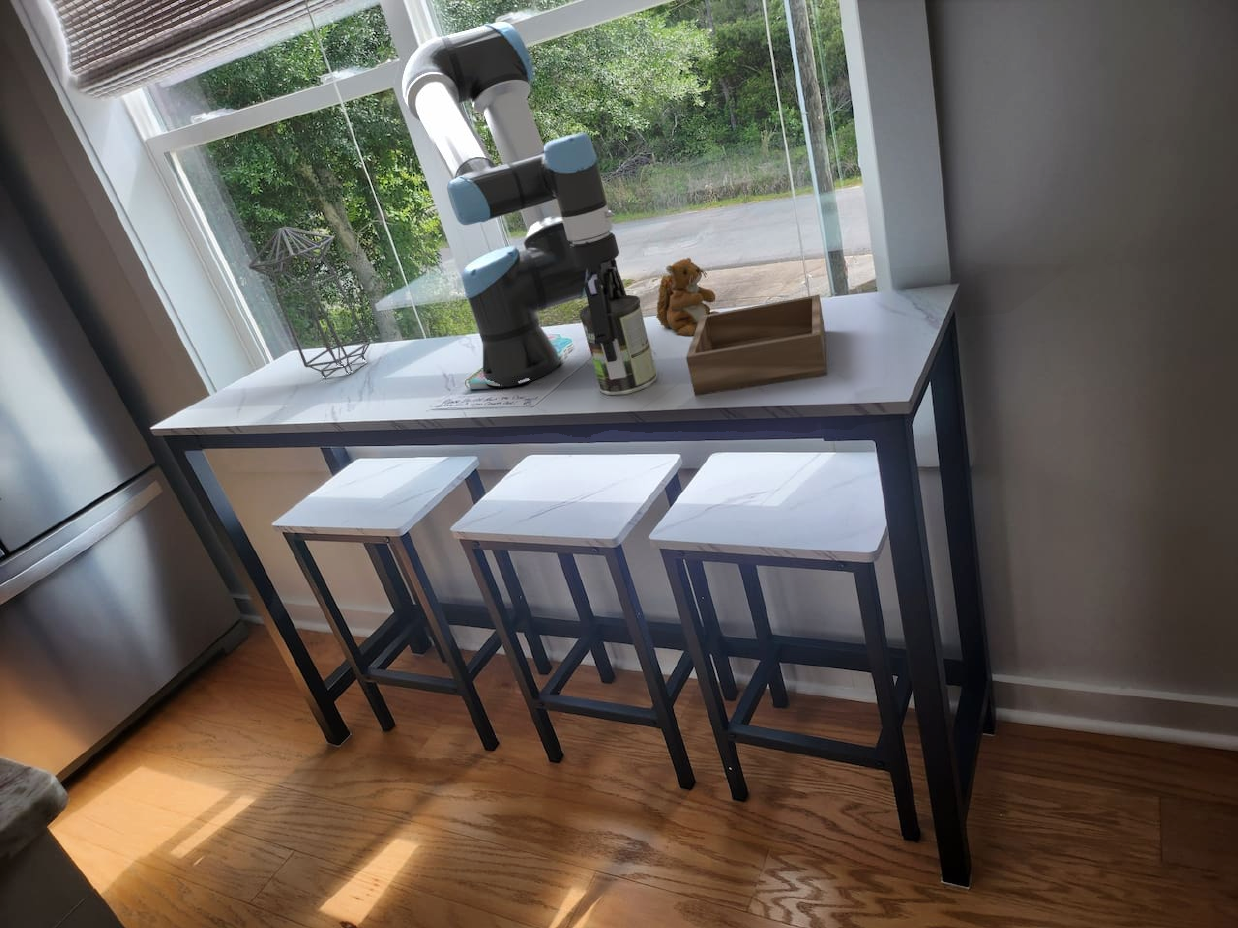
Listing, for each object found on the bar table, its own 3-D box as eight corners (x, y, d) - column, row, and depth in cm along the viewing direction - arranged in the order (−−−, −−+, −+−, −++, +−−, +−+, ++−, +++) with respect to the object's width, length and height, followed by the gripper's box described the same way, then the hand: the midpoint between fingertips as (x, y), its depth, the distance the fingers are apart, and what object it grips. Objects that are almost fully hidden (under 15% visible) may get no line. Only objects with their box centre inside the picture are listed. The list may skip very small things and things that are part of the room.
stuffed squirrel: (693, 337, 162) (678, 270, 156) (645, 332, 172) (629, 268, 167) (729, 318, 167) (716, 252, 161) (680, 314, 177) (666, 252, 172)
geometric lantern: (352, 380, 195) (286, 230, 181) (300, 389, 202) (232, 244, 187) (389, 354, 208) (330, 211, 193) (338, 363, 214) (278, 225, 200)
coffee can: (609, 401, 142) (587, 320, 136) (593, 385, 151) (572, 309, 145) (666, 381, 144) (647, 301, 138) (647, 366, 153) (628, 290, 147)
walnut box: (708, 350, 152) (701, 316, 150) (825, 330, 147) (819, 294, 144) (694, 395, 135) (686, 357, 132) (826, 375, 129) (820, 334, 126)
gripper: (598, 250, 126) (633, 388, 135) (626, 217, 145) (656, 339, 155) (550, 260, 128) (588, 395, 137) (585, 226, 147) (616, 346, 157)
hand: (624, 365), depth 146 cm, fingers closed on coffee can, 10 cm apart
